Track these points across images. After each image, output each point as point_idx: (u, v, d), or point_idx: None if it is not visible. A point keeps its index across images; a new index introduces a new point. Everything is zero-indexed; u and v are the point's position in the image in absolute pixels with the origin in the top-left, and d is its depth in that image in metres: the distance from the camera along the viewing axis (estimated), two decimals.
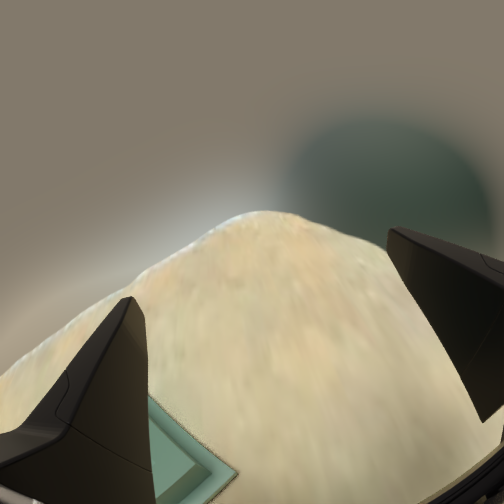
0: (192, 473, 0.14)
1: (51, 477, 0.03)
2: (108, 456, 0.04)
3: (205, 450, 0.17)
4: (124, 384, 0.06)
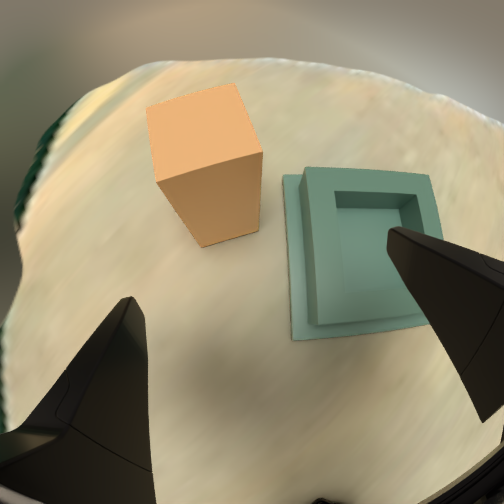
0: None
1: (52, 477, 0.03)
2: (108, 456, 0.04)
3: None
4: (124, 384, 0.06)
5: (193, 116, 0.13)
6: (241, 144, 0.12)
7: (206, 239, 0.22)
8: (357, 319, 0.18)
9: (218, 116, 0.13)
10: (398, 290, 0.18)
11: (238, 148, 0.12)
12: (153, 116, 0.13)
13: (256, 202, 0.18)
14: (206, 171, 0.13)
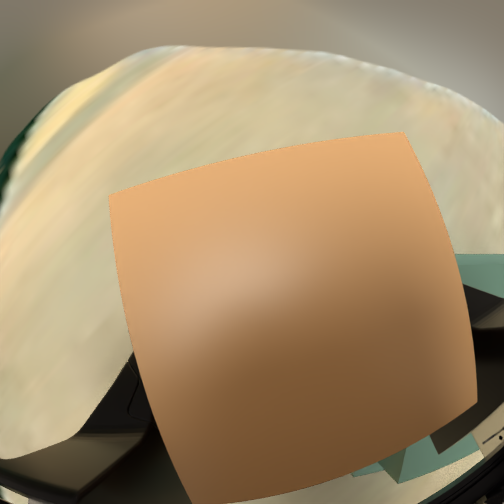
0: None
1: (139, 488, 0.03)
2: None
3: None
4: None
5: (301, 273, 0.04)
6: (443, 393, 0.03)
7: None
8: (439, 467, 0.09)
9: (387, 279, 0.04)
10: None
11: (434, 406, 0.03)
12: (134, 241, 0.04)
13: None
14: (337, 462, 0.03)
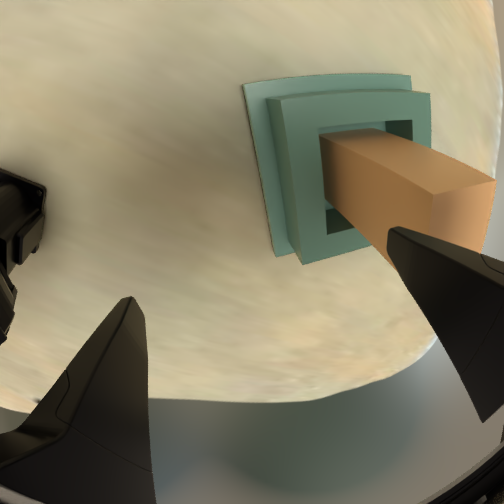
0: (298, 251, 0.21)
1: (51, 477, 0.03)
2: (108, 456, 0.04)
3: None
4: (124, 384, 0.06)
5: (469, 231, 0.10)
6: None
7: (327, 149, 0.18)
8: (289, 145, 0.16)
9: None
10: (322, 192, 0.18)
11: None
12: (487, 189, 0.09)
13: (361, 230, 0.16)
14: None
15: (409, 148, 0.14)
